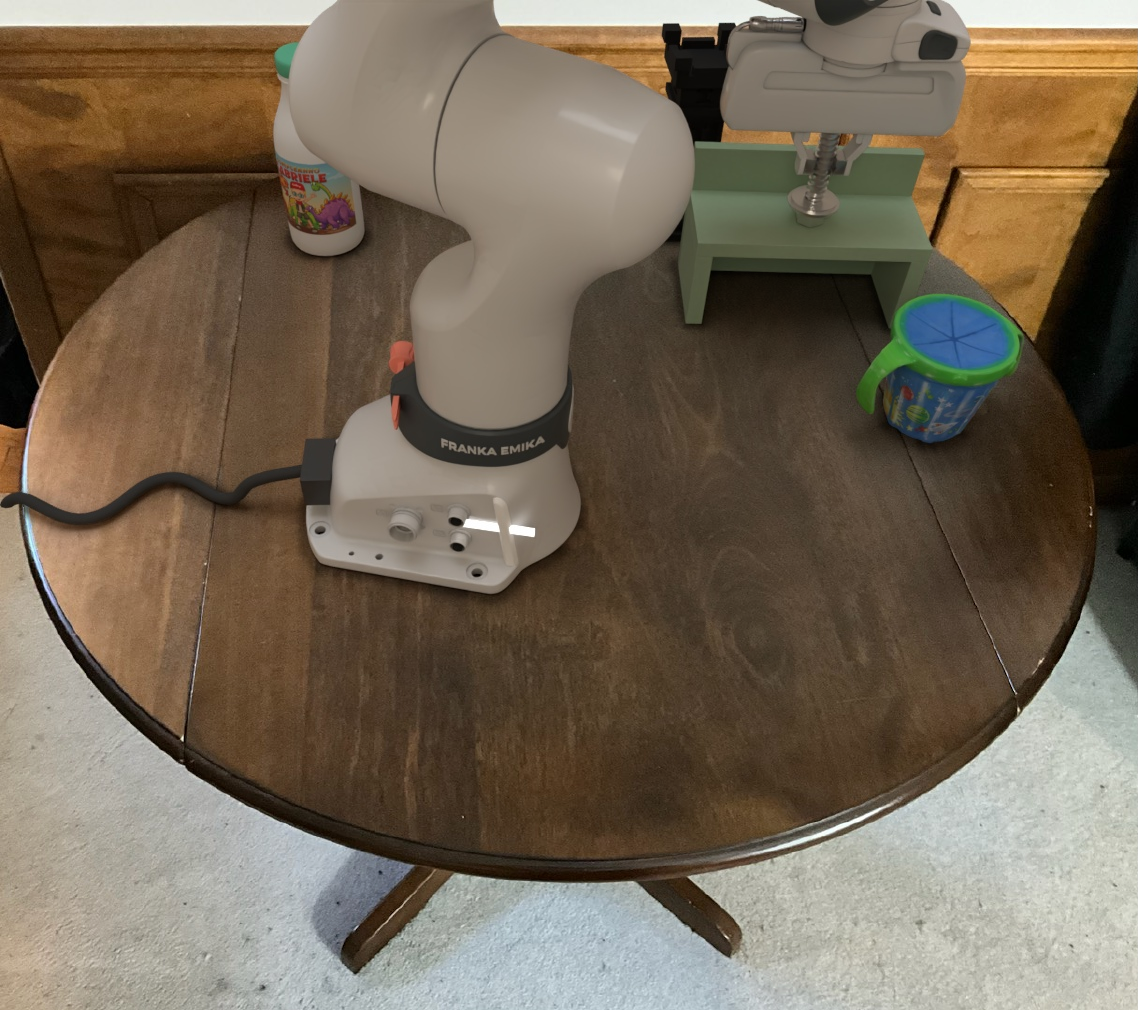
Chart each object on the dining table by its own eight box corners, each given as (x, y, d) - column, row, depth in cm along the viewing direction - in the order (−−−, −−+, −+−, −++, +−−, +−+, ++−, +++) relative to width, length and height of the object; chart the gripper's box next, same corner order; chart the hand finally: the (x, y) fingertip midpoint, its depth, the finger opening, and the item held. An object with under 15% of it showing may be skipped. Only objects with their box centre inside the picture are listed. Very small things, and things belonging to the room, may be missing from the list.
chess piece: (639, 199, 117) (658, 21, 102) (709, 197, 118) (737, 20, 103) (651, 241, 112) (672, 60, 97) (723, 239, 113) (755, 59, 98)
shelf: (685, 323, 103) (704, 200, 93) (677, 262, 110) (694, 141, 99) (904, 329, 104) (948, 207, 93) (883, 268, 111) (922, 148, 100)
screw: (773, 211, 100) (814, 200, 101) (802, 239, 97) (844, 227, 98) (802, 81, 90) (847, 71, 91) (835, 108, 87) (881, 97, 88)
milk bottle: (304, 212, 113) (271, 28, 98) (373, 220, 113) (351, 36, 98) (281, 253, 108) (243, 67, 93) (354, 262, 108) (327, 76, 93)
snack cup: (870, 472, 91) (902, 386, 83) (820, 391, 97) (846, 304, 90) (1026, 443, 94) (1072, 358, 86) (968, 367, 101) (1006, 281, 93)
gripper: (736, 33, 82) (711, 188, 93) (991, 42, 83) (938, 194, 93) (727, -2, 86) (704, 150, 97) (970, 7, 87) (921, 156, 97)
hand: (821, 172), depth 95 cm, fingers closed on screw, 2 cm apart
